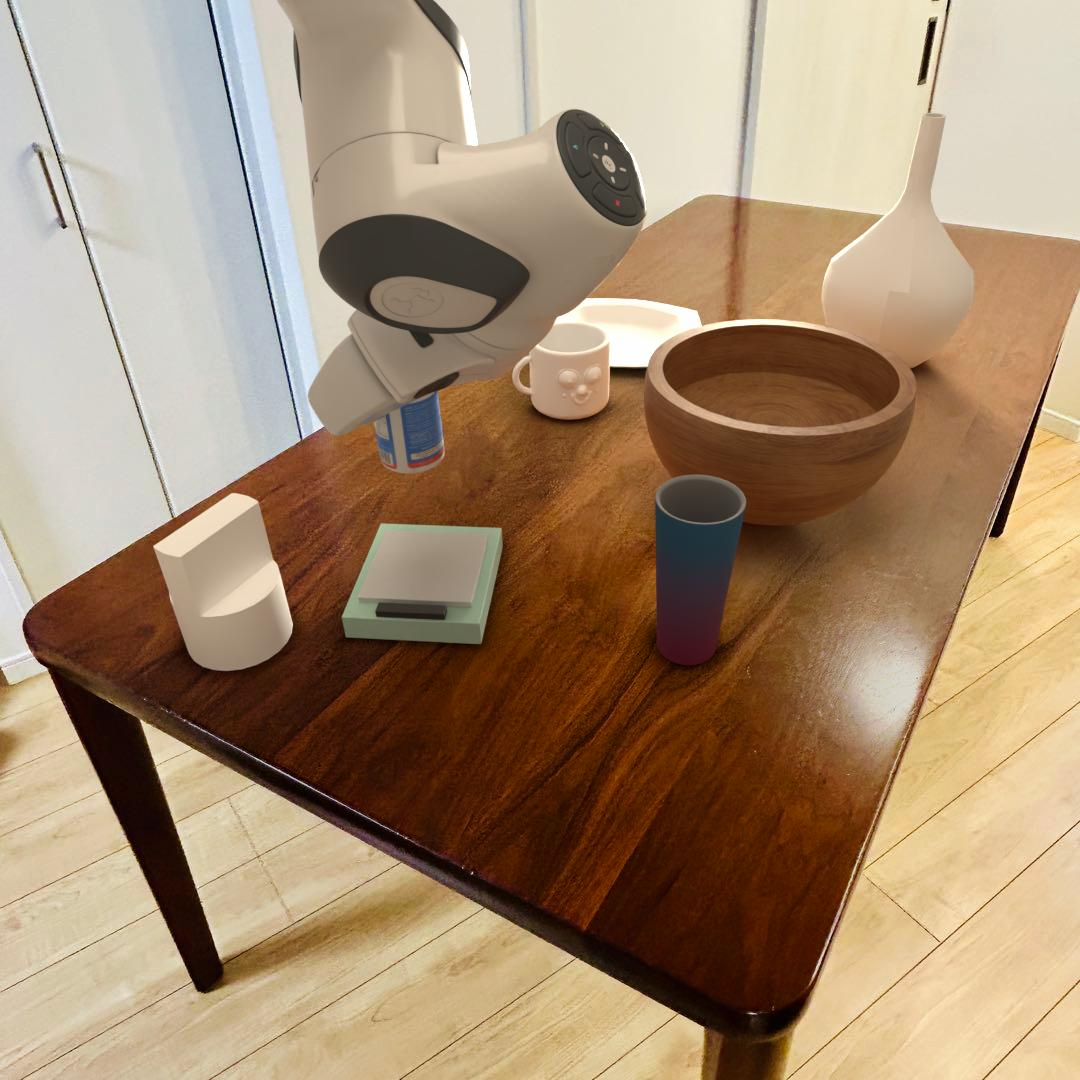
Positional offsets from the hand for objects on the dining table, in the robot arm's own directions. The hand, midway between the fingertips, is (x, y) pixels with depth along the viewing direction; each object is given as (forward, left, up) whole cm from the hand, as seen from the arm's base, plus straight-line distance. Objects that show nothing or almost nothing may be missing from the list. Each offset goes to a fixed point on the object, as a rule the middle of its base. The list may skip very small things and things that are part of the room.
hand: (399, 398), depth 72 cm
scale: (-1, 0, -20) cm, 20 cm away
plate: (+49, -31, -20) cm, 61 cm away
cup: (-13, -21, -20) cm, 32 cm away
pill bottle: (-1, 0, -6) cm, 6 cm away
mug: (+31, -19, -20) cm, 42 cm away
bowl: (+6, -35, -20) cm, 41 cm away
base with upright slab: (-3, +16, -20) cm, 26 cm away
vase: (+36, -64, -20) cm, 77 cm away
